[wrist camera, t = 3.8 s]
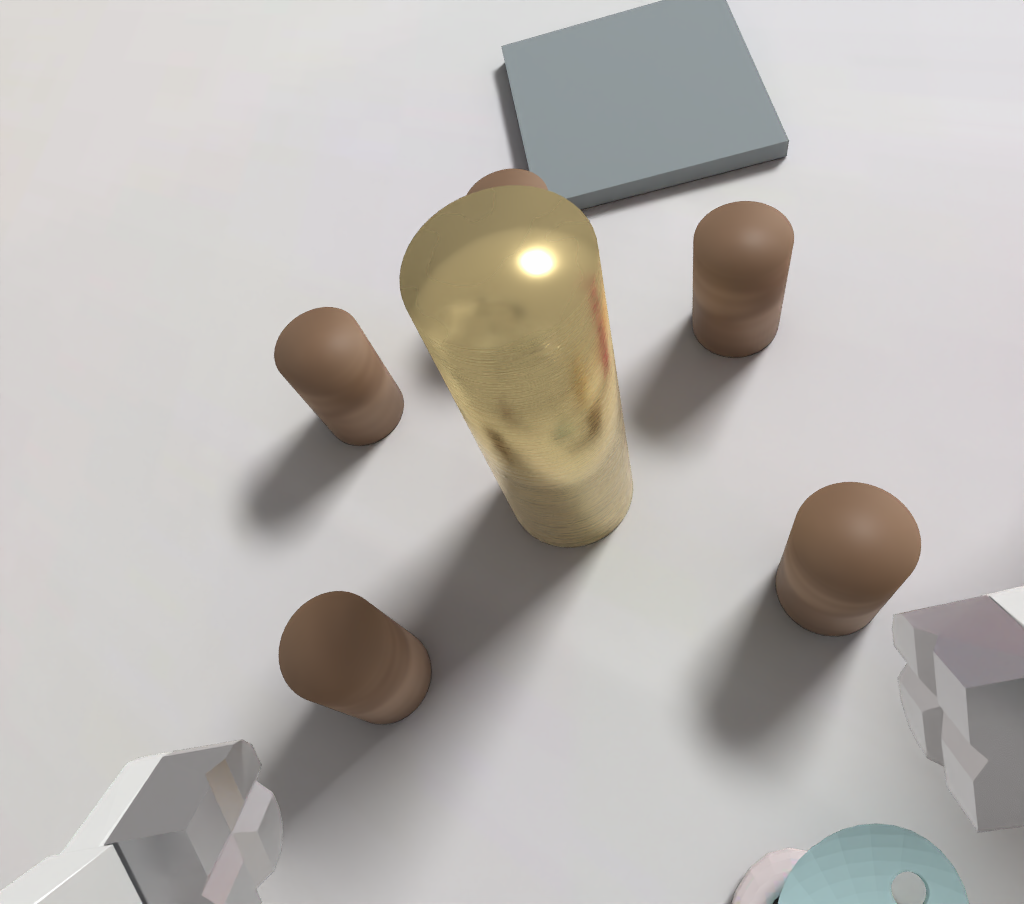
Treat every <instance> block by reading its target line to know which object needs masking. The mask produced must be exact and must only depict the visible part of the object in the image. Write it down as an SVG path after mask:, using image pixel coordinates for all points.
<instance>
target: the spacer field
mask: <svg viewBox="0 0 1024 904" xmlns="http://www.w3.org/2000/svg"><path fill="white" fill-rule="evenodd" d="M514 185H521V186H531V187H536V188H541V189H545V190H548V188H547V186H546V184H545V182H544V181H543V180H542V179H541V178H540V177H539V176H538V175H536V174H534V173H532V172H530V171H527V170H523V169H504V170H500V171H496V172H493V173H491V174H489V175H487V176H485V177H483V178H482V179H480V180H479V181H478V182H477V183H475V184H474V186H473V187H472V188H471V189H470V190H469V192H468V193H467V195H469V194H471V193H474V192H477V191H480V190H484V189H488V188H493V187H500V186H514ZM793 243H794V232H793V229H792V226H791V224H790V222H789V221H788V219H787V218H786V217H785V216H784V215H783V214H782V213H781V212H780V211H778V210H777V209H775V208H773V207H771V206H769V205H766V204H763V203H759V202H752V201H740V202H733V203H729V204H725V205H722V206H720V207H718V208H716V209H714V210H712V211H711V212H710V213H708V214H707V215H706V216H705V217H704V218H703V219H702V220H701V221H700V223H699V224H698V226H697V228H696V230H695V234H694V240H693V309H692V326H693V331H694V334H695V336H696V338H697V340H698V341H699V342H700V343H701V344H702V345H703V346H704V347H705V348H706V349H708V350H709V351H711V352H713V353H715V354H718V355H721V356H725V357H744V356H749V355H752V354H755V353H757V352H759V351H761V350H762V349H764V348H765V347H766V346H767V345H769V344H770V343H771V341H772V340H773V339H774V337H775V335H776V333H777V330H778V326H779V320H780V315H781V309H782V304H783V298H784V293H785V287H786V282H787V276H788V271H789V265H790V260H791V254H792V249H793ZM274 358H275V363H276V366H277V369H278V370H279V372H280V373H281V374H282V375H283V377H284V378H285V379H286V380H287V381H288V382H289V383H290V385H291V386H292V387H293V388H294V389H295V390H296V391H297V393H298V394H299V395H300V396H301V397H302V398H303V399H304V401H305V402H306V403H307V404H308V405H309V406H310V407H311V409H312V410H313V411H314V412H315V413H316V414H317V415H318V417H319V418H320V419H321V420H322V421H323V422H324V424H325V425H326V426H327V427H328V428H329V429H330V430H331V432H332V433H333V434H334V435H335V436H336V437H337V438H338V439H339V440H341V441H343V442H344V443H347V444H350V445H357V446H361V445H368V444H372V443H375V442H377V441H379V440H381V439H383V438H384V437H386V436H387V435H388V434H389V433H390V432H392V430H393V429H394V428H395V427H396V426H397V424H398V422H399V421H400V419H401V416H402V413H403V408H404V400H403V396H402V393H401V391H400V389H399V387H398V386H397V384H396V383H395V381H394V380H393V378H392V376H391V375H390V373H389V372H388V370H387V369H386V367H385V365H384V364H383V362H382V361H381V359H380V358H379V356H378V354H377V353H376V351H375V350H374V348H373V347H372V345H371V343H370V342H369V340H368V339H367V337H366V336H365V334H364V332H363V331H362V329H361V328H360V326H359V325H358V323H357V322H356V320H355V319H354V318H353V316H351V315H350V314H349V313H348V312H346V311H344V310H342V309H338V308H333V307H321V308H316V309H313V310H310V311H307V312H305V313H303V314H301V315H299V316H298V317H296V318H295V319H294V320H292V321H291V322H290V323H289V324H288V325H287V326H286V327H285V329H284V330H283V331H282V333H281V334H280V336H279V338H278V340H277V343H276V346H275V351H274ZM920 551H921V538H920V533H919V529H918V526H917V524H916V522H915V520H914V518H913V516H912V514H911V513H910V511H909V510H908V509H907V508H906V507H905V505H904V504H903V503H901V502H900V501H899V500H898V499H897V498H896V497H894V496H893V495H891V494H890V493H888V492H886V491H885V490H883V489H880V488H878V487H876V486H872V485H869V484H864V483H858V482H842V483H836V484H832V485H829V486H826V487H824V488H821V489H820V490H818V491H816V492H815V493H813V494H812V495H811V496H809V497H808V498H807V499H806V500H805V502H804V503H803V504H802V506H801V507H800V509H799V511H798V513H797V515H796V518H795V521H794V524H793V526H792V529H791V532H790V535H789V538H788V541H787V544H786V547H785V550H784V552H783V555H782V558H781V561H780V564H779V567H778V570H777V574H776V592H777V596H778V599H779V601H780V603H781V605H782V607H783V609H784V610H785V612H786V613H787V614H788V615H789V617H790V618H791V619H792V620H794V621H795V622H796V623H797V624H798V625H800V626H801V627H803V628H805V629H807V630H809V631H811V632H814V633H816V634H820V635H825V636H843V635H848V634H851V633H854V632H856V631H858V630H860V629H862V628H863V627H864V626H866V625H867V624H868V623H869V622H870V621H871V620H872V619H873V618H874V616H875V615H876V614H877V613H878V612H879V611H880V609H881V608H882V607H883V606H884V605H885V604H886V602H887V601H888V600H889V599H890V598H891V597H892V595H893V594H894V593H895V592H896V591H897V590H898V588H899V587H900V586H901V585H902V584H903V583H904V581H905V580H906V579H907V578H908V577H909V576H910V575H911V573H912V572H913V570H914V569H915V567H916V565H917V562H918V560H919V556H920ZM279 665H280V669H281V672H282V675H283V678H284V679H285V681H286V683H287V684H288V686H289V687H290V688H291V689H292V690H293V691H294V692H295V693H296V694H297V695H299V696H300V697H302V698H304V699H306V700H309V701H312V702H314V703H317V704H320V705H323V706H325V707H328V708H331V709H334V710H336V711H339V712H342V713H345V714H347V715H350V716H353V717H356V718H359V719H361V720H364V721H367V722H370V723H374V724H390V723H394V722H397V721H400V720H402V719H404V718H405V717H407V716H408V715H410V714H411V713H412V712H413V711H414V710H415V709H416V708H417V707H418V706H419V705H420V704H421V702H422V701H423V699H424V697H425V695H426V693H427V691H428V688H429V685H430V680H431V663H430V659H429V655H428V653H427V651H426V649H425V647H424V646H423V644H422V643H421V642H420V641H419V640H418V639H417V638H416V637H415V636H414V635H412V634H411V633H410V632H408V631H407V630H406V629H404V628H403V627H401V626H400V625H399V624H397V623H396V622H395V621H393V620H392V619H391V618H389V617H388V616H387V615H385V614H384V613H383V612H381V611H380V610H379V609H377V608H376V607H374V606H373V605H372V604H370V603H369V602H368V601H366V600H365V599H363V598H362V597H360V596H358V595H356V594H353V593H350V592H344V591H334V592H328V593H324V594H321V595H318V596H316V597H314V598H312V599H311V600H309V601H307V602H306V603H305V604H303V605H302V606H301V607H300V608H299V609H298V610H297V611H296V612H295V613H294V614H293V616H292V617H291V619H290V620H289V622H288V623H287V625H286V627H285V629H284V632H283V634H282V637H281V641H280V646H279Z"/></svg>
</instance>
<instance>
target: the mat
mask: <svg viewBox="0 0 1024 904" xmlns="http://www.w3.org/2000/svg"><path fill="white" fill-rule="evenodd" d="M501 47H502V51H503V56H504V60H505V65H506V69H507V74H508V78H509V83H510V87H511V91H512V96H513V100H514V105H515V109H516V114H517V118H518V123H519V127H520V131H521V136H522V140H523V145H524V149H525V154H526V158H527V163H528V167H529V171H530V172H532V173H534V174H536V175H538V176H539V177H540V178H541V179H542V180H543V181H544V182H545V184H546V186H547V188H548V191H551V192H554V193H556V194H558V195H560V196H562V197H564V198H566V199H567V200H569V201H570V202H572V203H573V204H574V205H576V206H577V207H578V208H579V209H580V210H581V209H585V208H589V207H592V206H596V205H600V204H604V203H608V202H612V201H616V200H620V199H623V198H627V197H631V196H635V195H639V194H643V193H647V192H650V191H654V190H658V189H662V188H666V187H670V186H674V185H677V184H681V183H685V182H689V181H693V180H697V179H701V178H704V177H708V176H712V175H716V174H720V173H724V172H728V171H732V170H735V169H739V168H743V167H747V166H751V165H755V164H759V163H762V162H766V161H770V160H774V159H778V158H782V157H786V156H787V150H788V143H789V140H788V138H787V135H786V133H785V131H784V129H783V126H782V124H781V122H780V120H779V117H778V115H777V113H776V111H775V108H774V106H773V104H772V102H771V100H770V97H769V95H768V93H767V91H766V88H765V86H764V84H763V82H762V79H761V77H760V75H759V73H758V70H757V68H756V66H755V64H754V62H753V59H752V57H751V55H750V53H749V50H748V48H747V46H746V44H745V41H744V39H743V37H742V35H741V33H740V30H739V28H738V26H737V24H736V21H735V19H734V17H733V15H732V12H731V10H730V8H729V6H728V3H727V1H726V0H662V1H659V2H655V3H652V4H648V5H645V6H641V7H638V8H634V9H631V10H627V11H624V12H620V13H617V14H613V15H609V16H606V17H602V18H599V19H595V20H592V21H588V22H585V23H581V24H578V25H574V26H571V27H567V28H564V29H560V30H557V31H553V32H550V33H546V34H543V35H539V36H536V37H532V38H529V39H525V40H521V41H518V42H514V43H511V44H507V45H504V46H501Z"/></svg>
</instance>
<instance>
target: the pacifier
mask: <svg viewBox="0 0 1024 904" xmlns="http://www.w3.org/2000/svg"><path fill="white" fill-rule="evenodd" d="M906 871H909V872H913V873H915V874H917V875H918V876H919V877H920V878H921V879H922V881H923V882H924V884H925V887H926V898H925V901H924V903H923V904H969V902H968V898H967V895H966V891H965V888H964V885H963V883H962V881H961V879H960V877H959V876H958V874H957V872H956V870H955V868H954V867H953V865H952V864H951V863H950V861H949V860H948V859H947V858H946V857H945V855H944V854H943V853H942V852H941V851H940V850H939V849H938V848H937V847H935V846H934V845H933V844H932V843H931V842H929V841H928V840H927V839H925V838H924V837H922V836H920V835H918V834H916V833H915V832H913V831H911V830H907V829H904V828H901V827H897V826H894V825H885V824H866V825H857V826H853V827H850V828H846V829H842V830H840V831H838V832H836V833H834V834H832V835H830V836H828V837H826V838H825V839H823V840H822V841H821V842H819V843H818V844H817V845H815V846H813V847H812V848H811V849H810V850H808V851H805V850H799V849H792V848H786V849H782V850H778V851H775V852H771V853H768V854H766V855H765V856H764V857H762V858H761V859H760V860H759V861H757V862H756V863H755V864H754V865H753V866H751V867H750V868H749V869H748V871H747V873H746V874H745V876H744V878H743V879H742V881H741V883H740V884H739V886H738V888H737V889H736V891H735V894H734V897H733V900H732V904H773V902H774V900H775V899H777V898H778V897H779V896H780V897H779V901H778V904H897V903H896V901H895V900H894V898H893V896H892V893H891V885H892V882H893V879H894V878H895V877H896V876H897V875H898V874H900V873H901V872H906Z"/></svg>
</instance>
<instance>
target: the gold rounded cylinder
mask: <svg viewBox="0 0 1024 904" xmlns="http://www.w3.org/2000/svg"><path fill="white" fill-rule="evenodd" d="M400 291H401V296H402V299H403V302H404V305H405V307H406V309H407V311H408V313H409V315H410V317H411V319H412V321H413V323H414V324H415V326H416V328H417V330H418V332H419V334H420V336H421V338H422V340H423V342H424V343H425V345H426V347H427V349H428V351H429V353H430V355H431V357H432V359H433V360H434V362H435V364H436V366H437V368H438V370H439V372H440V374H441V376H442V378H443V379H444V381H445V383H446V385H447V387H448V389H449V391H450V393H451V395H452V396H453V398H454V400H455V402H456V404H457V406H458V408H459V410H460V412H461V414H462V415H463V417H464V419H465V421H466V423H467V425H468V427H469V429H470V431H471V432H472V434H473V436H474V438H475V440H476V442H477V444H478V446H479V448H480V450H481V451H482V453H483V455H484V457H485V459H486V461H487V463H488V465H489V467H490V468H491V470H492V472H493V474H494V476H495V478H496V480H497V482H498V484H499V486H500V487H501V489H502V491H503V493H504V495H505V497H506V499H507V501H508V503H509V504H510V506H511V508H512V510H513V512H514V514H515V516H516V518H517V519H518V521H519V523H520V524H521V525H522V526H523V528H524V529H525V530H526V531H527V532H528V533H529V534H531V535H532V536H533V537H535V538H536V539H538V540H540V541H542V542H544V543H547V544H550V545H554V546H558V547H578V546H584V545H587V544H591V543H593V542H596V541H598V540H600V539H602V538H603V537H605V536H607V535H608V534H609V533H611V532H612V531H613V530H614V529H615V528H616V527H617V526H618V525H619V524H620V522H621V521H622V520H623V518H624V517H625V515H626V513H627V511H628V509H629V506H630V504H631V500H632V494H633V481H632V474H631V467H630V460H629V454H628V447H627V440H626V433H625V426H624V420H623V413H622V406H621V399H620V392H619V386H618V379H617V372H616V365H615V359H614V352H613V345H612V338H611V331H610V325H609V318H608V311H607V304H606V298H605V291H604V284H603V277H602V270H601V264H600V257H599V250H598V244H597V238H596V235H595V232H594V230H593V227H592V225H591V224H590V222H589V220H588V218H587V217H586V216H585V215H584V214H583V212H582V211H581V210H580V209H579V208H578V207H577V206H576V205H574V204H573V203H572V202H570V201H569V200H567V199H566V198H564V197H562V196H560V195H558V194H556V193H554V192H551V191H548V190H545V189H541V188H536V187H531V186H521V185H514V186H500V187H493V188H488V189H484V190H480V191H477V192H474V193H471V194H469V195H466V196H464V197H462V198H459V199H458V200H456V201H454V202H452V203H450V204H448V205H447V206H446V207H444V208H443V209H441V210H440V211H438V212H437V213H436V214H435V215H433V216H432V217H431V218H430V219H429V220H428V221H427V222H426V223H425V224H424V225H423V226H422V227H421V228H420V230H419V231H418V232H417V233H416V235H415V236H414V238H413V239H412V241H411V243H410V244H409V246H408V248H407V250H406V253H405V255H404V258H403V261H402V265H401V270H400Z"/></svg>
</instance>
